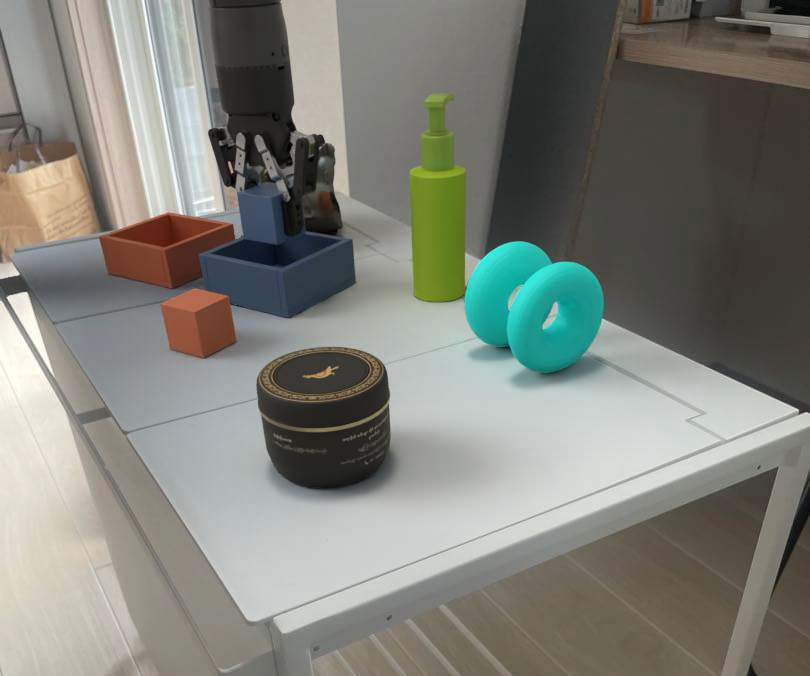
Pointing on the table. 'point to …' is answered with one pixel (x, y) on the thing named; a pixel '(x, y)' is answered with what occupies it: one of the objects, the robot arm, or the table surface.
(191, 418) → the table surface
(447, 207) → the soap dispenser
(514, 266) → the donuts
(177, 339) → the terracotta block
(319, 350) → the jar
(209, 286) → the blue bin
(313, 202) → the lucky cat figurine
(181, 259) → the terracotta bin
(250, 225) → the blue block
